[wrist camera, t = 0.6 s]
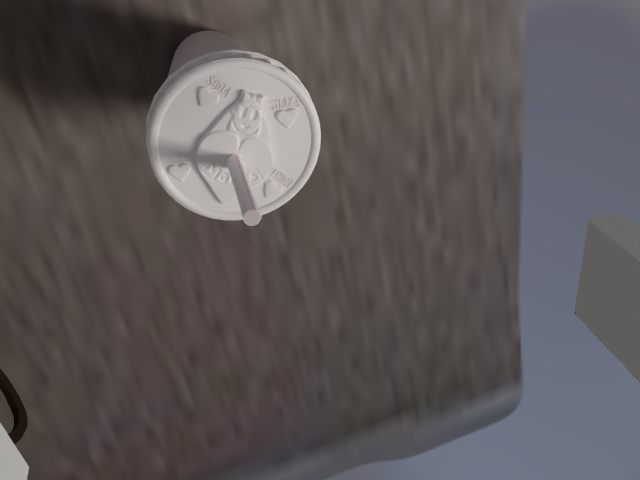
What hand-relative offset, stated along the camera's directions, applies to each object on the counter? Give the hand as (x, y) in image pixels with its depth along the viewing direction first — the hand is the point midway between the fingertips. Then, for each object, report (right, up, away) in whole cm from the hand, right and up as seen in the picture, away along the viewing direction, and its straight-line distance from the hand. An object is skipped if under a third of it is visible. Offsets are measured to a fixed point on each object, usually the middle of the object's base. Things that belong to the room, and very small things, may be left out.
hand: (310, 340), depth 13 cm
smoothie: (-5, +11, +17) cm, 21 cm away
